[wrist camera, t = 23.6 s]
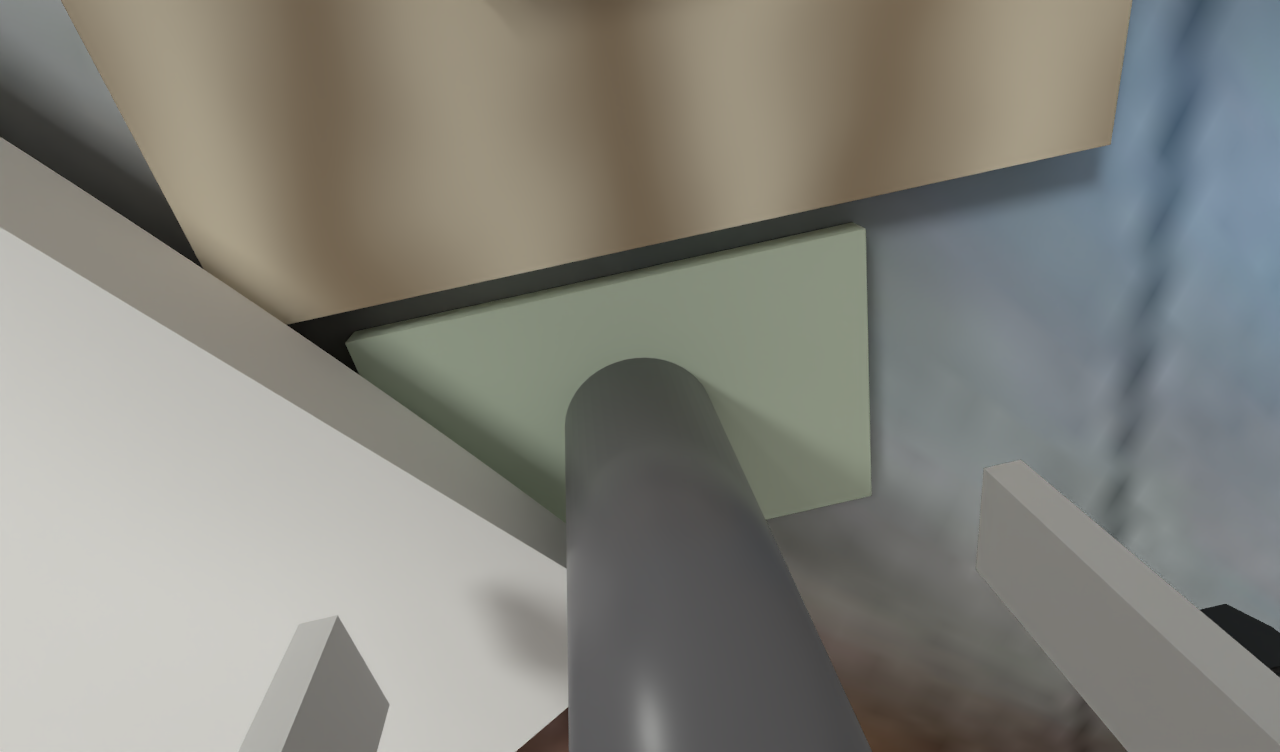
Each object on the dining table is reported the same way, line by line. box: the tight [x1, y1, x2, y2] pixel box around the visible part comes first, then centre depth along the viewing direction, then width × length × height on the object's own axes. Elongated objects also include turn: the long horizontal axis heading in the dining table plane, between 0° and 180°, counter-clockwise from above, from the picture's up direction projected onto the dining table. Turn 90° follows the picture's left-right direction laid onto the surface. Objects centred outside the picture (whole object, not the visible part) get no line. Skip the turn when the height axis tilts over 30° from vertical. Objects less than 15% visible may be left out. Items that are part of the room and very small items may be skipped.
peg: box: [565, 358, 872, 752], centre depth 13 cm, size 4×4×12 cm
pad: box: [345, 222, 872, 523], centre depth 19 cm, size 14×9×1 cm, turn 101°
